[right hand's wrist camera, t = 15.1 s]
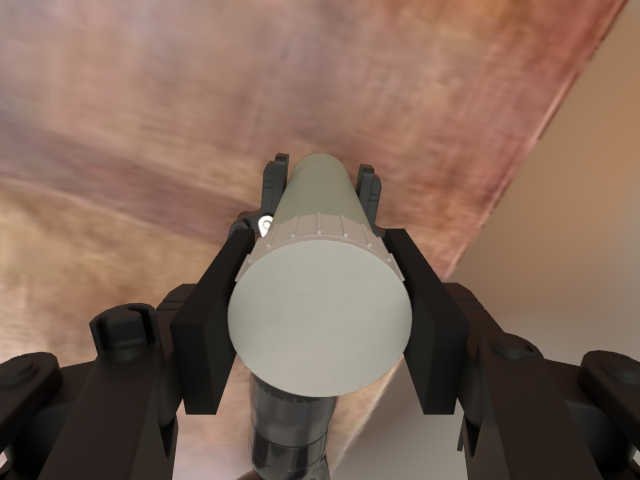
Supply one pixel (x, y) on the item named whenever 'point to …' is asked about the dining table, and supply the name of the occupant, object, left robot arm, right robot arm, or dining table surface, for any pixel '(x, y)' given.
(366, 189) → the left robot arm
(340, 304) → the lid
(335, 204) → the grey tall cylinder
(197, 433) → the dining table surface
